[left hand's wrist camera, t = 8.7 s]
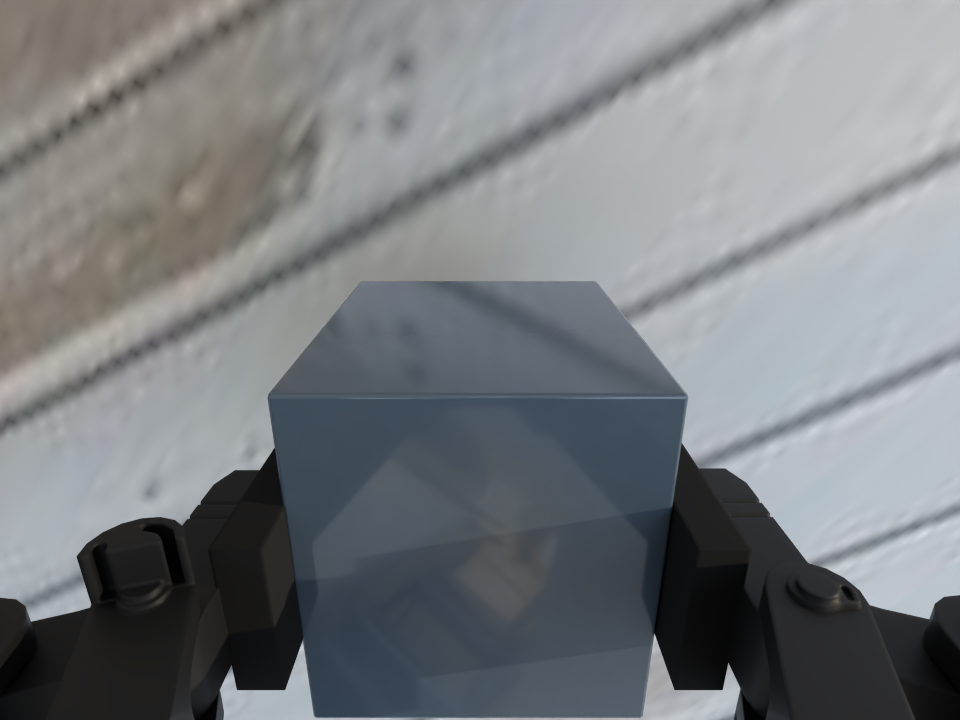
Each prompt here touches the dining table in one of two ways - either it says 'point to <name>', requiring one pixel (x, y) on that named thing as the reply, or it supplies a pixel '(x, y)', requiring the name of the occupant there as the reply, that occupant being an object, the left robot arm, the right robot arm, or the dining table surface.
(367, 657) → the cube
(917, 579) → the dining table surface
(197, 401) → the dining table surface
